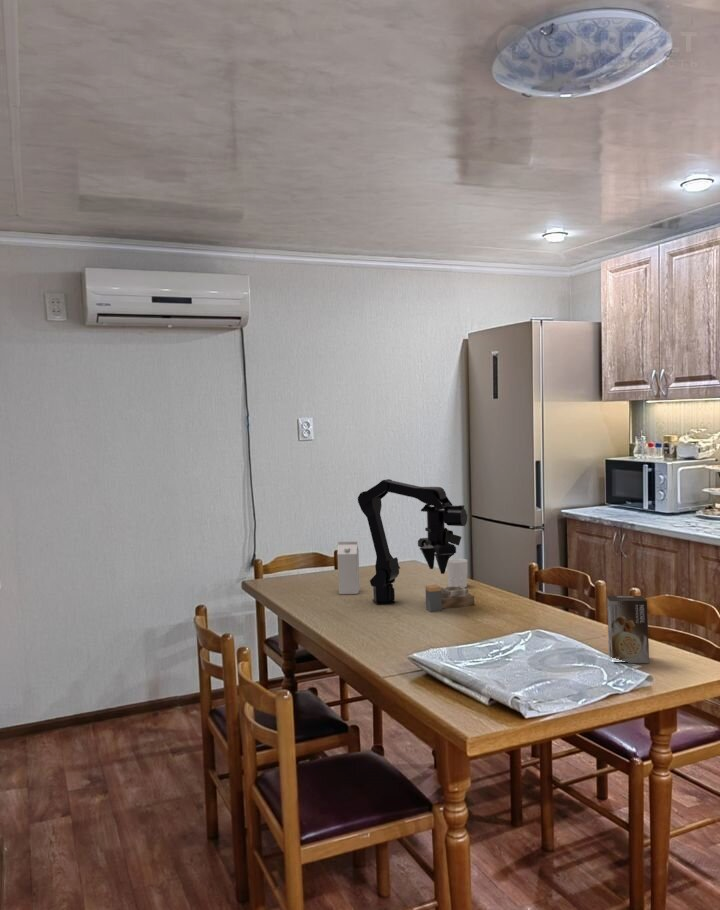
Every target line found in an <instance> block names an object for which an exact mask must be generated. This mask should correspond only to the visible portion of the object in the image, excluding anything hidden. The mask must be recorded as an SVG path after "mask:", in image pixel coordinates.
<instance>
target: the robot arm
mask: <svg viewBox="0 0 720 910" xmlns="http://www.w3.org/2000/svg"><path fill="white" fill-rule="evenodd" d="M389 493H391V494H396V495H400V496H406V497H409V498H413V499H417V500H418V501H420V502H421V503H423V504H424V506H423V507H422V508H421V509H420V511H421V512H426V519H427V520H426V524H427V527H425V529H424V530H425V532H427V537H422V538H421V537H420V538H419V539H418V541H417V546H418V547H419V550H420V552H421V553H422V556H423V557H424V559H425V561H426V564H427V566H428V567H429V569H430V570H434V564H435V560H436V563H437V566H438V569H439V572H440V574H441V575H444V574H445V572H446V571H447V563H448V560H449V559H451V557H452V556H454V555H455V554H457V547H458V546H460V543H461V539H462V536H460V535H458V534H457V535H456V534H454V532H453V530H450V529H448V528H447V527H445V526H448V527H449V526H450V527H451V526H454V527H465V526H466V525H467V522H468V514H467V511H466V509H465V505H464V504H463V505H462V504H460V505H453V503H452V502H451V500H450V499H449V498H448V496H447V493H446V490H445V489H444V488H443V487H440V486H418V485H414V484H409V483H404V482H401V481H395V480H392V479H389V478H387V479H383V480H382V479H381V481H380V482H378V483H377V484H376V485H374V486H373V487H371V488H369V489H368V490H365V491H361V492H360V493H359V495H358V496H357V502H358V505H359V507H360V510H361V512H362V513H363V514H364V515H365V517H366V519H367V523H368V527H369V532H370V535H371V540H372V543H373V547H374V551H375V556H376V558H375V559H376V560H375V567H374V568H375V574H374V576H372V578H370V579H369V583H370V586H371V587H373V588H372V591H373V599H371V601H372V602H374V603H375V604H376V605H385V604H395V603H396V601H395V600H396V599H395V598H396V597H395V588H394V586H393V584H394V583H395V582H396V578H397V577H398V576H399V575H400V569H401V567H400V565H399V559H398V557H393V556H392V555H391V552H390V549H389V545H388V540H387V537H386V532H385V528H384V524H383V520H382V516H381V511H382V506H383V505H382V499H383V498H384V497H385V496H387V494H389ZM445 524H446V525H445ZM456 546H457V547H456Z"/></svg>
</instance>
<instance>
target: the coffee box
mask: <svg viewBox="0 0 720 910" xmlns="http://www.w3.org/2000/svg"><path fill="white" fill-rule="evenodd" d="M606 601H607V602H606V603H607V607H606V608H607V631H608V632H607V635H608V636H607V637H608V638H607V639H608V656H609V657H610V656H611V657H612V658H616V659H619V660H622V661H625V662H628V663H627V664H650V646H649V645H650V644H649V622H648V621H649V618H648V617H649V616H648V600H647V599H646V598H645V597H644V596H643V595H624V594H623V595H622V594H618V595H616V594H615V595H610V594H609V595H606Z"/></svg>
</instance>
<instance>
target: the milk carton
mask: <svg viewBox="0 0 720 910" xmlns="http://www.w3.org/2000/svg"><path fill="white" fill-rule="evenodd" d="M337 544H338V545H337V578H338V579H337V580H338V595H358V594H359V593H360V589H361V583H360V582H361V581H360V556H359V552H360V551H359V546H358V541H355V540H354V541H338V542H337Z"/></svg>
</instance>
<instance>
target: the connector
mask: <svg viewBox="0 0 720 910" xmlns="http://www.w3.org/2000/svg"><path fill="white" fill-rule="evenodd" d="M424 587H425V610H427V611H428V612H429V613H437V612H442V611H443V608H442V600H441V587H442V586H440V585H438V584H430V585H425V586H424Z"/></svg>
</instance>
